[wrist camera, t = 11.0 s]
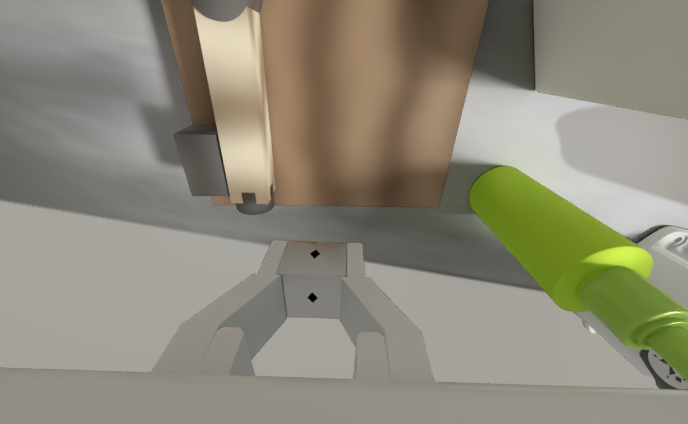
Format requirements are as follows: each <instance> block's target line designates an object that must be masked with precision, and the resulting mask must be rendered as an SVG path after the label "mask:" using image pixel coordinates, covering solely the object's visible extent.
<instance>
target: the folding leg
mask: <svg viewBox="0 0 688 424" xmlns="http://www.w3.org/2000/svg"><path fill="white" fill-rule="evenodd" d="M190 2H191V3H192V4H193V8H194V13H195V18H196V23H197V28H198V34H199V39H200V44H201V49H202V54H203V59H204V64H205V70H206V75H207V80H208V85H209V90H210V95H211V101H212V106H213V111H214V116H215V121H216V126H217V132H218V137H219V142H220V147H221V152H222V157H223V163H224V168H225V173H226V178H227V183H228V188H229V193H230V199H231V203H236V205H237V209H238V211H239V212H241V213H244V214H249V215H256V214H262V213H265V212H268V211H270V210H271V209H272V208H273V207H274V205H275V202H274V191H275V189H276V188H275V177H274V166H273V155H272V145H271V134H270V123H269V112H268V101H267V91H266V80H265V69H264V58H263V48H262V37H261V26H260V15H259V13H260V10H261V7H262V0H190Z"/></svg>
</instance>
